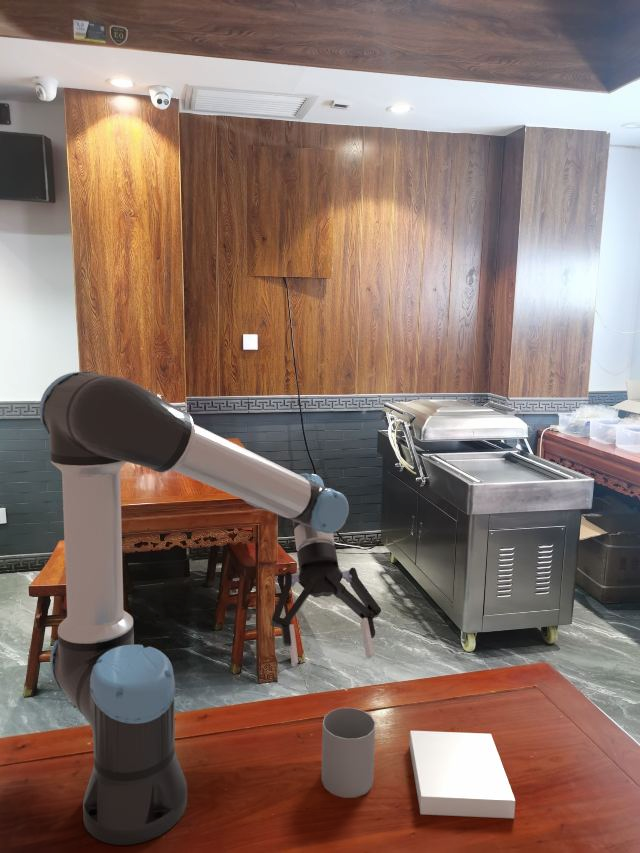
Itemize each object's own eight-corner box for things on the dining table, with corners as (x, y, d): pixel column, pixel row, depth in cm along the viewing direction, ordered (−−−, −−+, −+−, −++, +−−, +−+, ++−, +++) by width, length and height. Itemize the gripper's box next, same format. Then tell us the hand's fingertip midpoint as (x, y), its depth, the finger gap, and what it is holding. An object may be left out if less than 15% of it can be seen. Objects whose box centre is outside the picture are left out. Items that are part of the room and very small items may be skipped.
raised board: (420, 814, 98) (421, 796, 97) (409, 746, 113) (410, 730, 113) (513, 818, 97) (515, 800, 97) (489, 749, 113) (490, 733, 112)
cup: (311, 776, 105) (312, 720, 104) (347, 755, 111) (349, 701, 109) (347, 805, 99) (349, 746, 97) (383, 781, 104) (386, 725, 103)
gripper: (372, 553, 131) (395, 659, 119) (249, 561, 125) (260, 673, 113) (382, 536, 125) (406, 646, 113) (253, 544, 119) (264, 660, 107)
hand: (333, 660), depth 113 cm, fingers open, 13 cm apart
